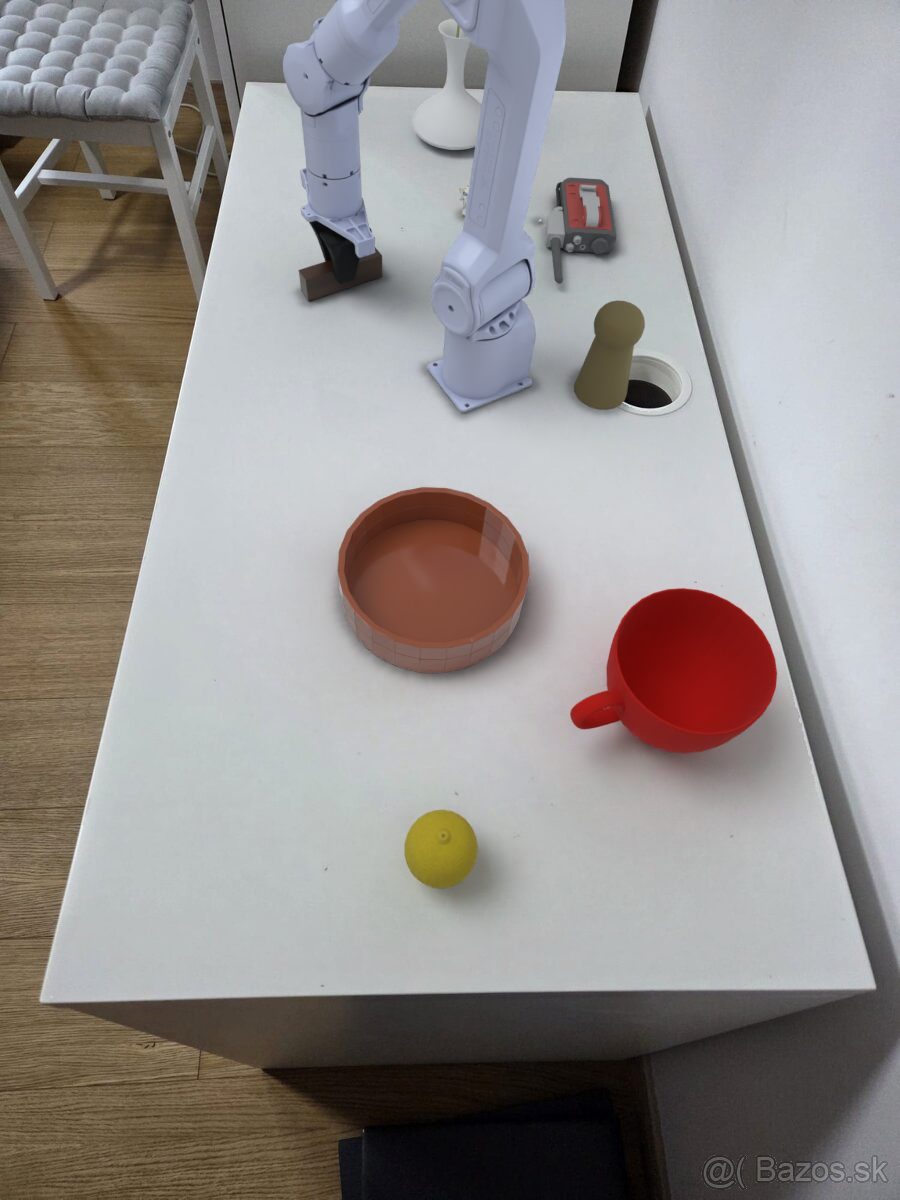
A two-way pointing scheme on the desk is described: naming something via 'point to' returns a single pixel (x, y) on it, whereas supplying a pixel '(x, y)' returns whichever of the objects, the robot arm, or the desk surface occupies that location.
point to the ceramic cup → (684, 673)
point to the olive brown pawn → (610, 356)
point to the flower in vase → (450, 100)
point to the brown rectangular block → (323, 277)
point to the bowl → (432, 579)
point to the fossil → (465, 197)
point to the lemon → (441, 849)
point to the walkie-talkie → (580, 220)
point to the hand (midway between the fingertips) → (341, 273)
